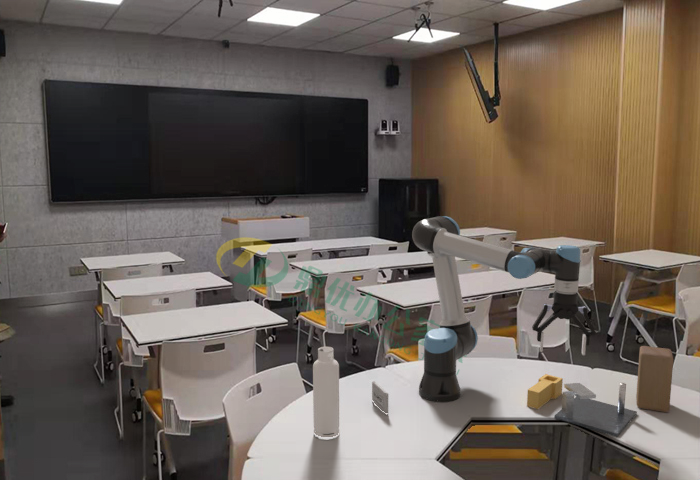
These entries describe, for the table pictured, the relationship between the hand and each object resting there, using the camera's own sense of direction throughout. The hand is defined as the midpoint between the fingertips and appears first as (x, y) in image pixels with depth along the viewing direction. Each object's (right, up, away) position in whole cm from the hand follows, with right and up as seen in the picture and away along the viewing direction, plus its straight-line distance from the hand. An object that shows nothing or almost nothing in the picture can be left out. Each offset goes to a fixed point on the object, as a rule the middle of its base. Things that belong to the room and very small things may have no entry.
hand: (562, 352), depth 200 cm
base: (+10, -21, -3) cm, 24 cm away
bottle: (-80, -23, -15) cm, 84 cm away
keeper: (+3, -21, -4) cm, 22 cm away
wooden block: (+34, -20, +6) cm, 40 cm away
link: (-3, -19, +11) cm, 22 cm away
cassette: (-62, -21, +4) cm, 65 cm away
